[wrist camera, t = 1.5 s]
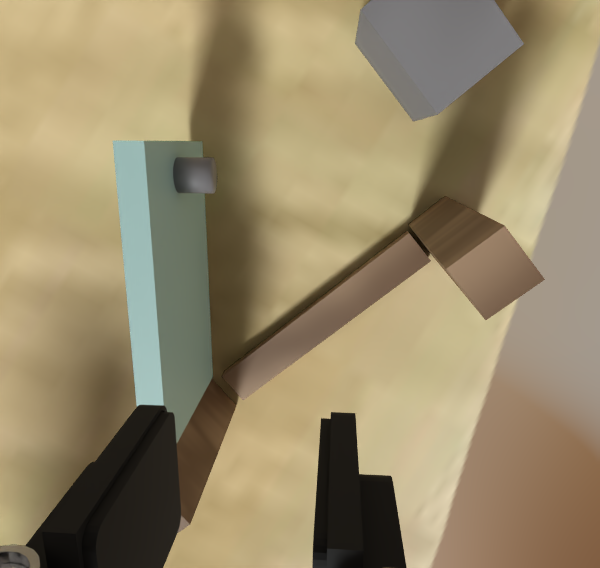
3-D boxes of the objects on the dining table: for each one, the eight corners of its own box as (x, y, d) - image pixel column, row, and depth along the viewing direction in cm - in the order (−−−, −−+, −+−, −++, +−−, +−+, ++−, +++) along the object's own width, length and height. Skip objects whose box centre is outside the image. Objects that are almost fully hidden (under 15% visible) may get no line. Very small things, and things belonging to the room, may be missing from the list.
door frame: (148, 424, 33) (65, 547, 23) (445, 195, 28) (504, 225, 18) (174, 451, 34) (104, 583, 24) (471, 231, 28) (544, 279, 18)
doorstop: (355, 43, 26) (360, 9, 20) (418, -14, 26) (447, -69, 19) (413, 121, 27) (437, 114, 20) (476, 68, 26) (524, 44, 20)
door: (193, 375, 31) (141, 459, 23) (180, 141, 27) (112, 140, 19) (239, 377, 31) (203, 462, 23) (232, 141, 27) (186, 140, 19)
